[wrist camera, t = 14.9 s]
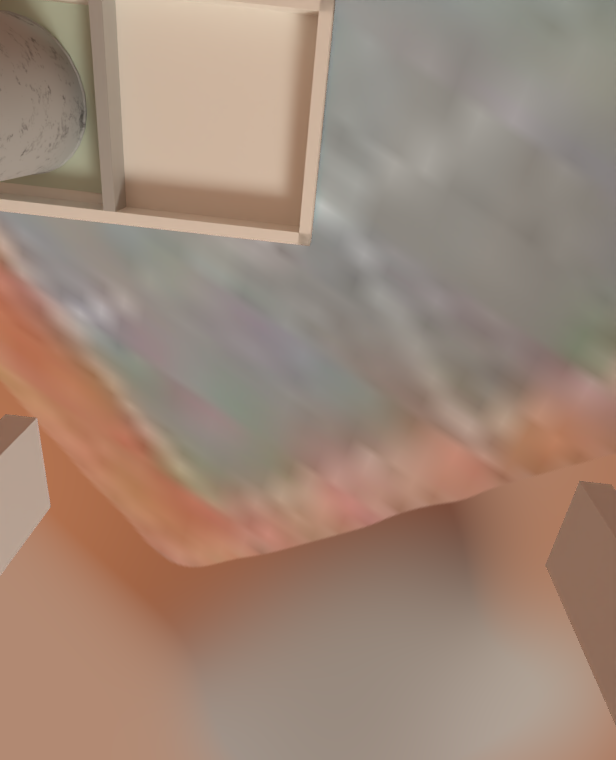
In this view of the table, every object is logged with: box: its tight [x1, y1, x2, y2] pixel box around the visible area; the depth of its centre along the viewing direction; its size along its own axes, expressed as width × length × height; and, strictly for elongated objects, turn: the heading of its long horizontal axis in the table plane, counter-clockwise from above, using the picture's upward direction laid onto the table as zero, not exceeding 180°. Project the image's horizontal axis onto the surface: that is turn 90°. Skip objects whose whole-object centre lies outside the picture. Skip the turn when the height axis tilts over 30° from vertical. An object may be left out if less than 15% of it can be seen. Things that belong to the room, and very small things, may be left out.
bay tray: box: [0, 0, 335, 246], centre depth 35 cm, size 27×14×2 cm, turn 84°
